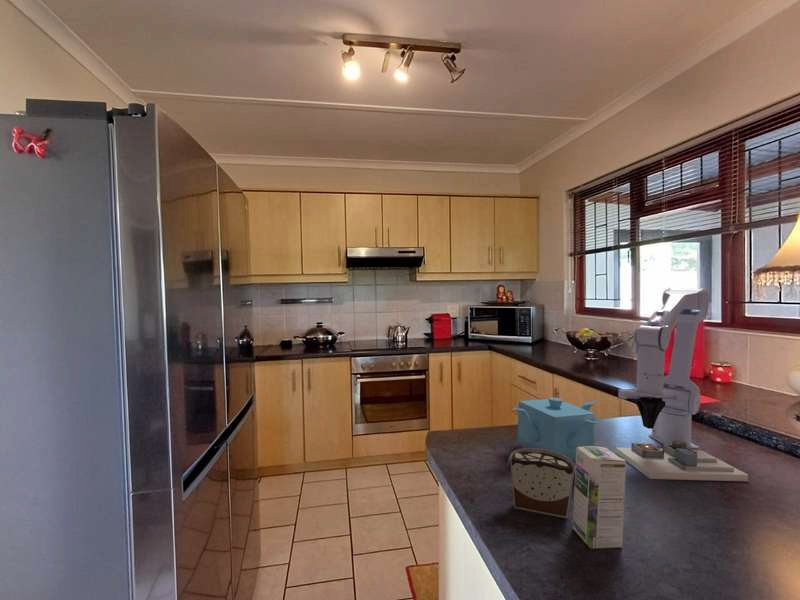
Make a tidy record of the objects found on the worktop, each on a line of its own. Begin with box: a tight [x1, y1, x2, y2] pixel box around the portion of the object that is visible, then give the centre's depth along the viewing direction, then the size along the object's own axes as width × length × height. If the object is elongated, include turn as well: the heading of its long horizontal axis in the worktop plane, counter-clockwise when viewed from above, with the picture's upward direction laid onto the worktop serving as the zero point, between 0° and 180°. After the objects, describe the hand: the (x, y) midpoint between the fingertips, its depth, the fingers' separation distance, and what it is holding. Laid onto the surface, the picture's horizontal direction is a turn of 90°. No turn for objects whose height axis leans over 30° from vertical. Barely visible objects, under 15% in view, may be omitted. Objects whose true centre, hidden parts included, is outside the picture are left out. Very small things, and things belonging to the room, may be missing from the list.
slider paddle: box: [675, 448, 697, 466], centre depth 91 cm, size 4×2×3 cm, turn 0°
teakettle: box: [512, 397, 599, 464], centre depth 98 cm, size 19×19×15 cm
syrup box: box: [572, 445, 627, 550], centre depth 65 cm, size 6×6×14 cm
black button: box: [672, 440, 687, 450], centre depth 98 cm, size 3×3×2 cm
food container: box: [507, 447, 576, 519], centre depth 75 cm, size 12×6×10 cm, turn 71°
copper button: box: [640, 443, 655, 450], centre depth 98 cm, size 3×3×2 cm
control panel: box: [614, 442, 749, 482], centre depth 94 cm, size 14×22×3 cm, turn 90°
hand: (648, 427), depth 98 cm, fingers closed
